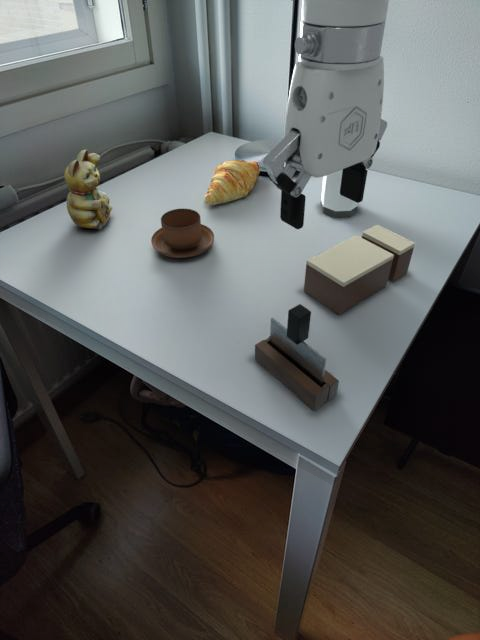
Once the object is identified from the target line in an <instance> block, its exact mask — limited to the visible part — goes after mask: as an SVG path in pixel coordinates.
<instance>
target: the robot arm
mask: <svg viewBox="0 0 480 640" xmlns="http://www.w3.org/2000/svg"><path fill="white" fill-rule="evenodd" d="M389 3H390V0H301V13H300V14H301V15H300V30H299V31H300V32H299V37H296V39H295V41H294V50H295V52H296V54H298V62H295V64H294V68H293V73H292V76H291V81H290V86H289V94H288V99H287V104H286V105H287V106H286V115H285V122H284V137H283V139H282V140H281V141H279V143H277V144H276V145H275V146H274V147H273V148H272V149H271V150H270V152H268V153H267V154H266V155H265V156H264V157H263V159H262V163H263V167H264V168H265V170H266V173H267V175H268V179H269V180H270V182H271V183H273V185H274V186H275V187H276V189H278V190H280V211H279V215H280V216H279V217H280V220H281V221H282V222H283V223H286V224H287V225H288V226H291V228H294V229H295V230H301V229H302V228H303V227H304V223H305V211H306V210H305V209H306V195H305V194H304V193H303V191H304V189H305V188H306V186H307V185H308V183H309V181H310V179H311V178H312V177H313V178H318V179H319V178H323V176H326V175H329V174H332V173H334V172H337V171H339V170H342V169H343V171H342V179H341V186H340V195H342V196H344V197H346V198H348V199H350V200H352V201H355V202H357V203H359V204H360V203H361V202H363V200H364V196H365V195H364V194H365V188H366V184H367V183H366V182H367V179H368V177H367V176H368V169H370V168H371V167H372V166H373V164H374V159H373V157H374V156H375V154H376V153H377V151H378V150H379V148H380V146H381V140H382V139H383V136H384V134H385V131H386V129H387V127H388V122H387V121H386V120H384V119H382V112H383V100H384V90H385V89H384V88H385V87H384V85H385V64H384V57H383V56H381V53H382V45H383V40H384V33H385V27H386V20H387V14H388V8H389ZM285 164H286V165H285ZM284 165H285V166H284ZM296 172H299V174H298V175H297V177H296V179H295V181H294V180H292V179H293V176H294V175H295V173H296Z"/></svg>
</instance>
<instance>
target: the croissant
mask: <svg viewBox="0 0 480 640" xmlns="http://www.w3.org/2000/svg"><path fill="white" fill-rule="evenodd" d="M258 163H259V164H260V162H259V161H256V160H253V161H246V160H244V159H232V160H227V161H224V162H221V163H220V164H218V166H216V168H215V169H214V170H213V176H212V178H211V180H210V185H209V186H208V187H207V192H206V194H205V195H204V203H205V204H206V205H211V206H212V205H213V206H214V205H220V204H226V203H228V202H232V201H236V200H239V199H243V198H246V197H247V196H248V194H249V193H250V192H252V190H253V189H254V188H255V185H256V182H257V180H258V177H259V175H260V172H261V170H260V171H259V167H260V166H259V165H258Z"/></svg>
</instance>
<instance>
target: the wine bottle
mask: <svg viewBox="0 0 480 640" xmlns="http://www.w3.org/2000/svg"><path fill="white" fill-rule="evenodd" d="M342 171H343V169H342V170H339V171H337V172H334V173H332V174H329V175H326V176H323V177H322V184H321V185H322V186H321V195H320V208H321V212H322V214H324V215H327V216H330V217H332V218H334V219H336V218H337V219H339V218H350V217H352V216H353V215H355V214H357V212H358V209H359V204H360V202H359V203H357V202H355V201H352V200H350V199H348V198H346V197H344V196H342V195H340V186H341V179H342Z"/></svg>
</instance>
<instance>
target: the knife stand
mask: <svg viewBox="0 0 480 640" xmlns="http://www.w3.org/2000/svg"><path fill="white" fill-rule="evenodd" d="M254 360H255V361H256V362H258V364H260V366H262V367H263V368H264V369H265V370H266V371H267V372H269V373H270V374H271V375H272V376H273V377H274V378H276V379H277V380H278V381H279V382H280V383H281V384H282V385H284V387H286V388H287V389H288V390H289V391H290V392H291V393H293V394H294V395H295V396H296V397H297V398H298V399H299V400H300V401H301V402H303V403H304V404H305V405H306V406H307V407H308V408H309V409H311V411H313V412H315V411H316V410H318V409H319V408H321V407H322V406H323V405H324V404H325V403H326V402H329V401H331V400H332V399H333V398H335V397H336V396H337V393H338V388H339V382H340V380H339V379H338V378H336V377H335V376H334V375H333V374H332V373H330V372H329V371H328V370H326V369H325V372H324V379H323V385H322V387H320V386H319V385H318V384H316V383H315V382H314V381H313V380H311V379H310V378H309V377H308V376H307V375H305V374H304V373H303V372H302V371H301V370H299V369H298V368H297V367H296V366H295V365H293V364H292V363H291V362H290V361H289V360H287V359H286V358H285V357H284V356H282V355H281V354H280V353H279V352H278V351H276V350H275V349H274V348H273V347H272V346H270V335H269V336H268V337H267V338H265V339H262V340H260V341H258V342H257V343H255V344H254Z"/></svg>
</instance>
